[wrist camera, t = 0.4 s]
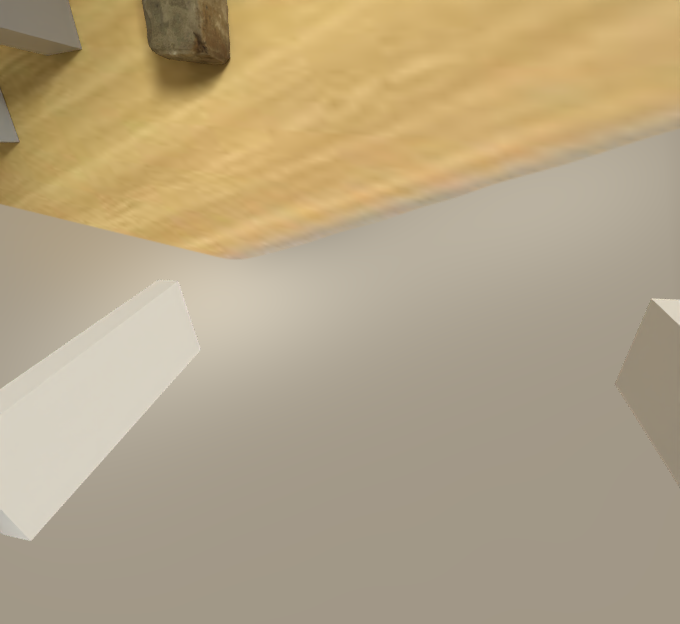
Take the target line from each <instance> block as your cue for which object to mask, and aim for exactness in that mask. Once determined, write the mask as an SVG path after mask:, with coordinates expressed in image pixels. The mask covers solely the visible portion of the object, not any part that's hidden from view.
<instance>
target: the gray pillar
mask: <svg viewBox="0 0 680 624" xmlns="http://www.w3.org/2000/svg"><path fill="white" fill-rule="evenodd" d="M0 45H4V46H8V47H13V48H17V49H21V50H26V51H30V52H34V53H39V54H43V55H47V56H48V55H54V54H59V53H64V52H69V51H75V50H80V49H82V48H81V44H80V40H79V37H78V33H77V30H76V26H75V22H74V19H73V15H72V12H71V8H70V4H69V1H68V0H0Z"/></svg>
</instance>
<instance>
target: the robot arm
mask: <svg viewBox="0 0 680 624" xmlns="http://www.w3.org/2000/svg"><path fill="white" fill-rule="evenodd" d="M200 350H201V348H200V346H199V342H198V339H197V336H196V333H195V330H194V327H193V324H192V321H191V318H190V315H189V312H188V309H187V306H186V303H185V300H184V297H183V293H182V290H181V287H180V285H179V281H174V280H173V281H172V280H157V281H156V282H154V283H153V284H151V285H150V286H148V287H147V288H145V289H144V290H142V291H141V292H140V293H138V294H137V295H135V296H134V297H132V298H131V299H130V300H128V301H127V302H125V303H124V304H122V305H121V306H119V307H118V308H116V309H115V310H114V311H112V312H111V313H109V314H108V315H106V316H105V317H103V318H102V319H101V320H99V321H98V322H96V323H95V324H93V325H92V326H90V327H89V328H88V329H86V330H85V331H83V332H82V333H80V334H79V335H77V336H76V337H75V338H73V339H72V340H70V341H69V342H67V343H66V344H64V345H63V346H62V347H60V348H59V349H57V350H56V351H54V352H53V353H51V354H50V355H49V356H47V357H46V358H44V359H43V360H41V361H40V362H39V363H37V364H36V365H34V366H33V367H31V368H30V369H28V370H27V371H26V372H24V373H23V374H22V375H20V376H18V377H17V378H15V379H14V380H13V381H11V382H10V383H8V384H7V385H5V386H4V387H2V388H1V389H0V532H1V533H2V534H4V535H8V536H12V537H16V538H21V539H24V540H29V541H31V540H32V539H33V538H34V537H35V536H36V535H37V533H38V532H39V531H40V530H41V529H42V528H43V526H45V524H46V523H47V522H48V521H49V520H50V519H51V518H52V517H53V515H54V514H55V513H56V512H57V511H58V510H59V509H60V508H61V506H62V505H63V504H64V503H65V502H66V501H67V500H68V498H69V497H70V496H71V495H72V494H73V493H74V492H75V491H76V490H77V488H78V487H79V486H80V485H81V484H82V483H83V482H84V481H85V479H86V478H87V477H88V476H89V475H90V474H91V473H92V471H93V470H94V469H95V468H96V467H97V466H98V465H99V463H101V461H102V460H103V459H104V458H105V457H106V456H107V455H108V453H109V452H110V451H111V450H112V449H113V448H114V447H115V446H116V444H117V443H118V442H119V441H120V440H121V439H122V438H123V437H124V436H125V434H126V433H127V432H128V431H129V430H130V429H131V428H132V427H133V425H134V424H135V423H136V422H137V421H138V420H139V418H140V417H141V416H142V415H143V414H144V413H145V412H146V411H147V410H148V409H149V407H150V406H151V405H152V404H153V403H154V402H155V401H156V399H157V398H158V397H159V396H160V395H161V394H162V393H163V392H164V390H165V389H166V388H167V387H168V386H169V385H170V384H171V382H172V381H173V380H174V379H175V378H176V377H177V376H178V375H179V374H180V372H181V371H182V370H183V369H184V368H185V367H186V366H187V365H188V363H189V362H190V361H191V360H192V359H193V358H194V357H195V355H196V354H197V353H198V352H199V351H200ZM615 385H616V387H617V388H618V390H619V392H620V393H621V395H622V396H623V398H624V399H625V401H626V403H627V404H628V406H629V407H630V409H631V411H632V412H633V414H634V415H635V417H636V419H637V420H638V422H639V423H640V425H641V427H642V428H643V430H644V431H645V433H646V435H647V436H648V438H649V439H650V441H651V442H652V444H653V446H654V447H655V449H656V450H657V452H658V454H659V455H660V457H661V458H662V460H663V462H664V463H665V465H666V466H667V468H668V470H669V471H670V473H671V474H672V476H673V478H674V479H675V481H676V482H677V484H678V486H679V487H680V300H674V299H651V300H650V303H649V305H648V307H647V310H646V312H645V315H644V317H643V319H642V322H641V324H640V326H639V329H638V331H637V333H636V336H635V338H634V340H633V343H632V345H631V347H630V350H629V352H628V354H627V357H626V359H625V361H624V364H623V366H622V368H621V371H620V373H619V375H618V378H617V380H616V382H615Z"/></svg>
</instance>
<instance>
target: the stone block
mask: <svg viewBox="0 0 680 624" xmlns="http://www.w3.org/2000/svg"><path fill="white" fill-rule="evenodd" d="M142 3H143V9H144V15H145V20H146V26H147V37H148V43H149V46H150V48H151V49H152V51H154V52H155V53H156V54H158V55H160V56H162V57H165V58H168V59H173V60H178V61H189V62H197V63H206V64H224V63H226V62H227V60H228V59H230V53H229V52H230V41H229V26H228V6H227V0H142Z"/></svg>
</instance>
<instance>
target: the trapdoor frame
mask: <svg viewBox="0 0 680 624" xmlns="http://www.w3.org/2000/svg"><path fill="white" fill-rule="evenodd" d="M0 142H19V139H18V136H17V133H16V130H15V128H14V125H13V122H12V119H11V117H10V114H9V111H8V108H7V106H6V103H5V100H4V97H3V95H2V92H1V89H0Z"/></svg>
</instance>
